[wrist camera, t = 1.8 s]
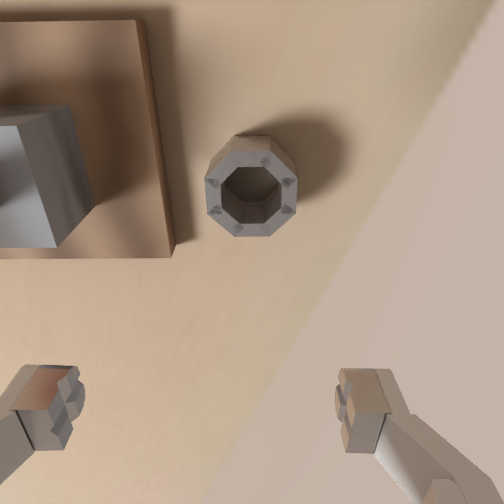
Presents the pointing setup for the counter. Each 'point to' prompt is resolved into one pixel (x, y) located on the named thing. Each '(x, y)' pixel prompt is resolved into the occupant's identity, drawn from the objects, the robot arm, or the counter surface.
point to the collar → (251, 212)
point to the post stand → (80, 143)
